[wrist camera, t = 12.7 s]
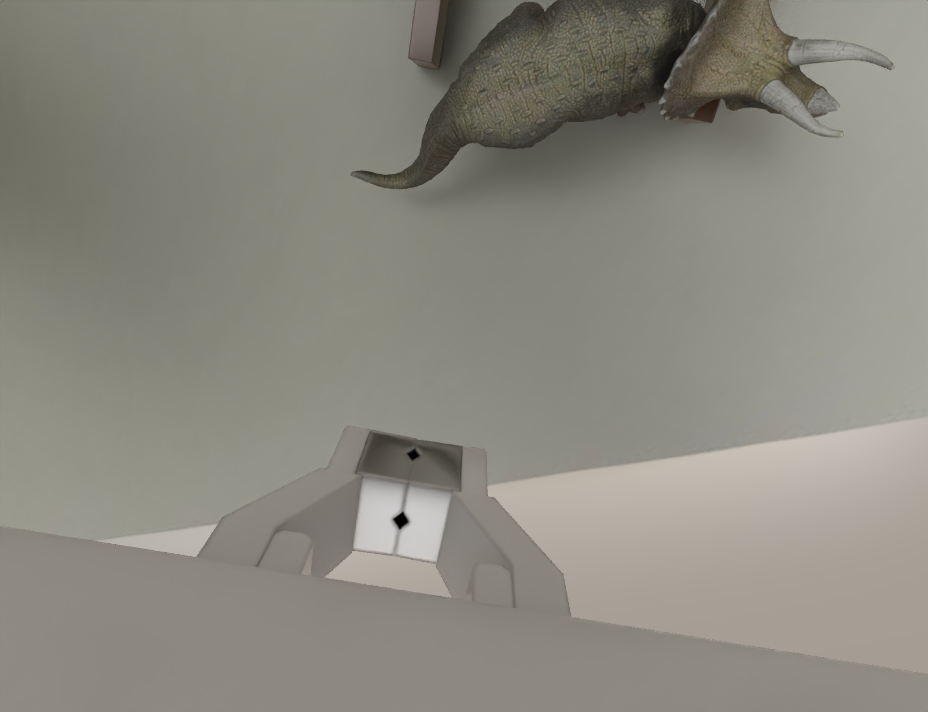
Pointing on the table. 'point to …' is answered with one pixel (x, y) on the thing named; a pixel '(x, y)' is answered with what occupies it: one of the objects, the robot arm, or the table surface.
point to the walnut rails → (431, 34)
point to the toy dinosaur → (621, 73)
